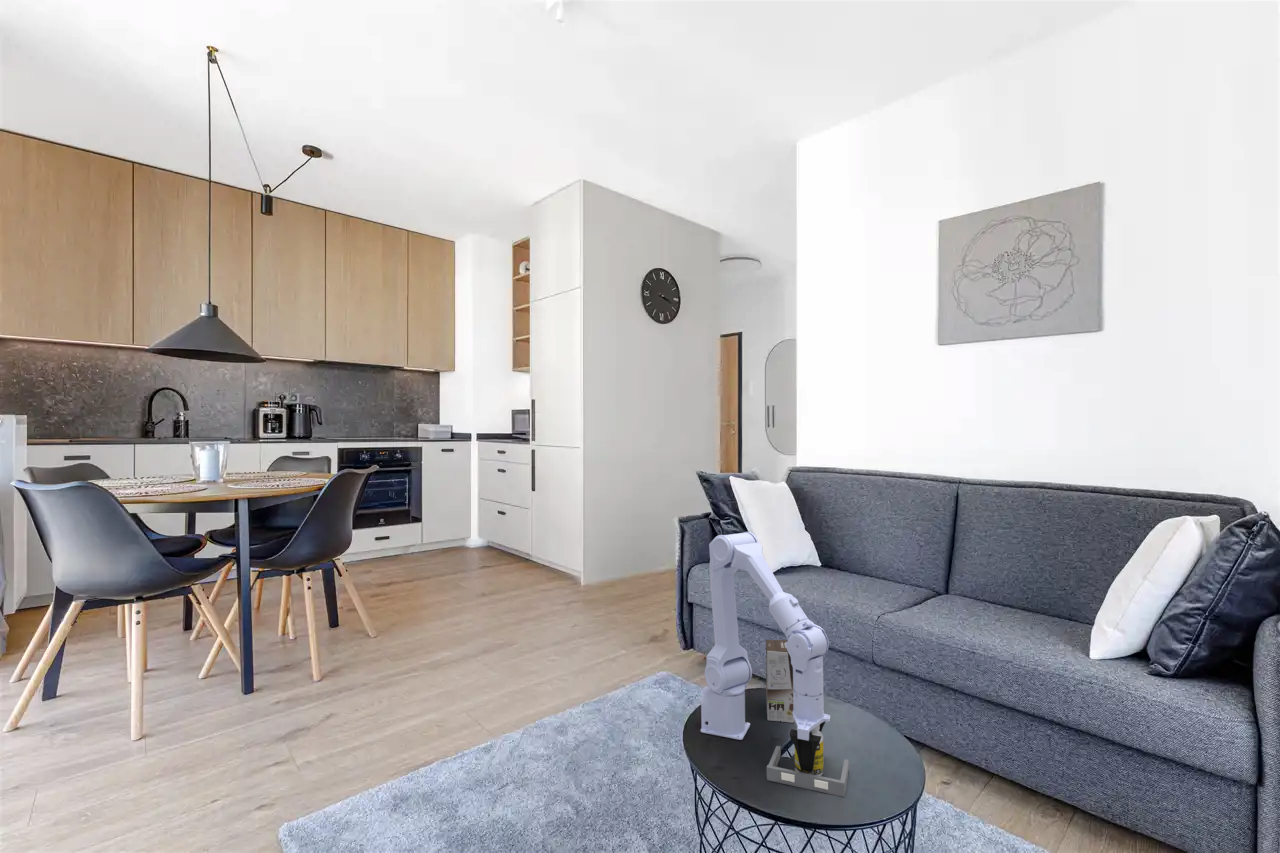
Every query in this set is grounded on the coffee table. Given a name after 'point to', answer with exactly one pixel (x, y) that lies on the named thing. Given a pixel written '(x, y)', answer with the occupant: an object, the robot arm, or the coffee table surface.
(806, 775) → the rail
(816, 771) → the supplement bottle
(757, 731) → the coffee table surface
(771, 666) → the coffee box
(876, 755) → the coffee table surface
